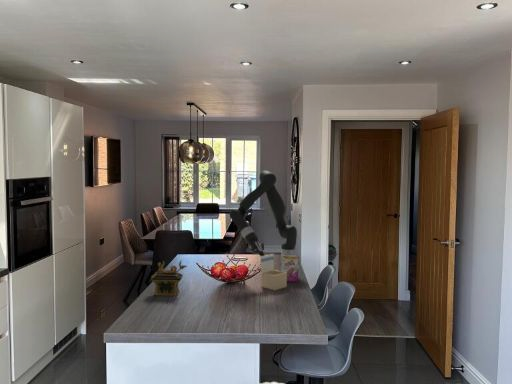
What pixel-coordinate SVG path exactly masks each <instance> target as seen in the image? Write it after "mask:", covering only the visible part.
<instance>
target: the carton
mask: <svg viewBox="0 0 512 384" xmlns="http://www.w3.org/2000/svg"><path fill="white" fill-rule="evenodd" d="M287 283H288V281H287V272H282V271H281V270H276V269H274V270H270V271H266V272H262V273H261V288H262V289H265V290H270V291H278V290H281V289H284V288H287Z"/></svg>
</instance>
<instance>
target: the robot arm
mask: <svg viewBox="0 0 512 384" xmlns="http://www.w3.org/2000/svg"><path fill="white" fill-rule="evenodd" d="M259 182H260V184H259V185H258V186H256V188H254V189H253V190H252V191H250V192H249V193H248V194H247V195H246V196H244V197H243V198H242V200H241V201H240V203H239V204H238V205H239V207H238V209H236V208H232V209H231V210H230V211H229V218H230V220H231V221H232V222H233V223H234V225H235V226H236V227H237V228H238V230H239V232H240V234H241V236H242V238H244V239H243V240H245V242H246V243H247V244H248V245H249V247H248V249H249V250H250V251H252V252H253V253H254V254H258V255H259V257H261V256H265V252H264V251H265V244H264V242H262V243H261V241H260V240H259V237H258V236H257V234H256V232H255V231H254V229H253V228H252V227H251V226H250V225H249V222H248V221H247V220H246V219H244V218H245V216H246V215H247V213H248V210H250V209H251V208H252V206H253V205H254V204H255V203H256V202H257V201H258V200H259V198H260V197H262V196H263V195H264V194H265V195H266V197H267V200H268V203H269V206H270V208H271V212H272V214H273V217H274V219H275V222H276V225H277V229H278V233H279V235H280V237H281V238H282V239H285V240H286V242H285V243H281V249H280V250H281V251H280V253H281V254H280V265H281V264H282V255H296V251H295V250H296V245H297V238H298V235H297V233H298V231H297V228H296V226H294V225H290V224H289V225H288V224H287V222H286V220H285V214H286V206H285V202H284V200H283V197H282V196H281V194H280V193H279V191H278V189H277V188H276V186H275V184H276V182H277V177H276V175H275V174H274V173H272V172H271V171H270V170H269V171H268V170H262V171H261V172H260V174H259Z"/></svg>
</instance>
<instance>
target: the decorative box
mask: <svg viewBox="0 0 512 384" xmlns="http://www.w3.org/2000/svg"><path fill="white" fill-rule="evenodd" d="M157 265H158V269H157V271H156V272H155V273H153V274H152V276H151V277H150V280H151V281H152V282H153V283H154V284H155V285H154V286H155V290H154V292H153V295H154V296H164V297H165V296H168V297H169V296H172V297H176V296H178V295H179V293H180V290H179V282H180V281H181V280H182V278H183V276H184V275H183V274H182V273H180V270H183V269H185V268H187V267H188V265H182V260H180V261H179V263H178V266H179V269H178V268H177V266H176V265H172V266H171V267H170V269H164V266H165V260H162V263H161V262H157Z"/></svg>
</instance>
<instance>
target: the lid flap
mask: <svg viewBox="0 0 512 384" xmlns="http://www.w3.org/2000/svg"><path fill="white" fill-rule="evenodd" d="M274 258H275V254H274V253H271V254H267V255H265V256H260V273H261V274H262V273H263V272H267V271H271V270H275V269H274V268H275V259H274Z"/></svg>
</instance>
